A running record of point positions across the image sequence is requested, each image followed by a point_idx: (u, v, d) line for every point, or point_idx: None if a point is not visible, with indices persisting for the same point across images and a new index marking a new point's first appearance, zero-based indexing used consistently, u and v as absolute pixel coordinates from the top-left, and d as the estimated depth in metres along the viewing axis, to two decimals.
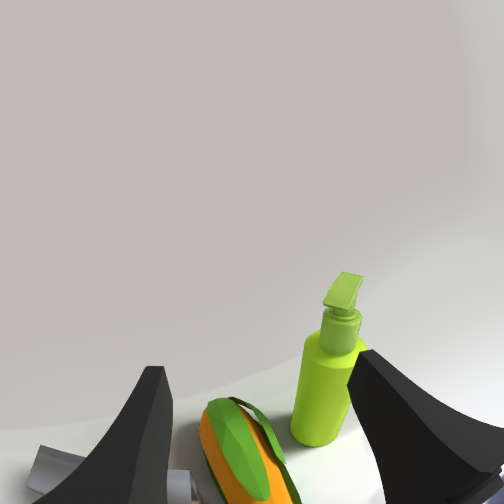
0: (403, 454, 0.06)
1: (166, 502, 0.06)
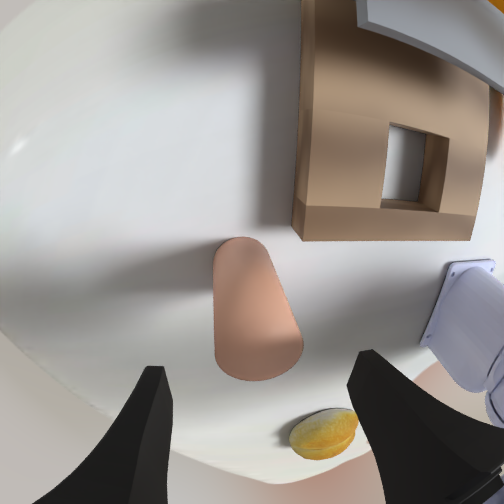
0: (403, 454, 0.06)
1: (166, 502, 0.06)
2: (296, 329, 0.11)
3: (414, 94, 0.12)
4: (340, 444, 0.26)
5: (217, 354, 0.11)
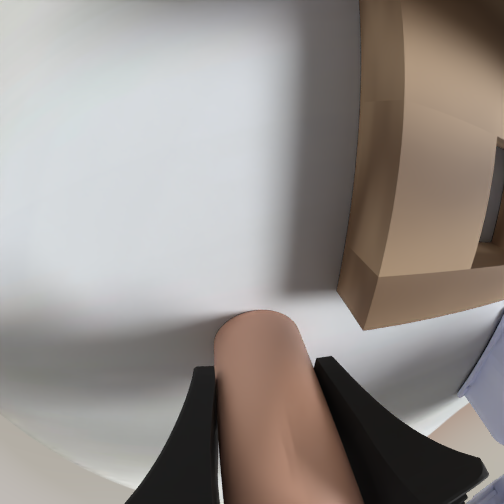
0: (355, 471, 0.06)
1: (219, 503, 0.06)
2: None
3: None
4: None
5: None
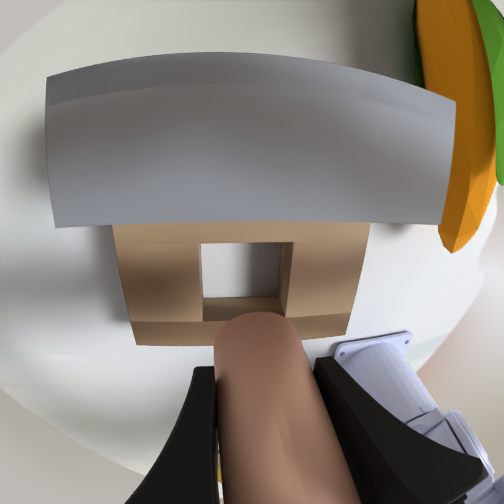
0: (355, 471, 0.06)
1: (219, 503, 0.06)
2: None
3: None
4: None
5: None
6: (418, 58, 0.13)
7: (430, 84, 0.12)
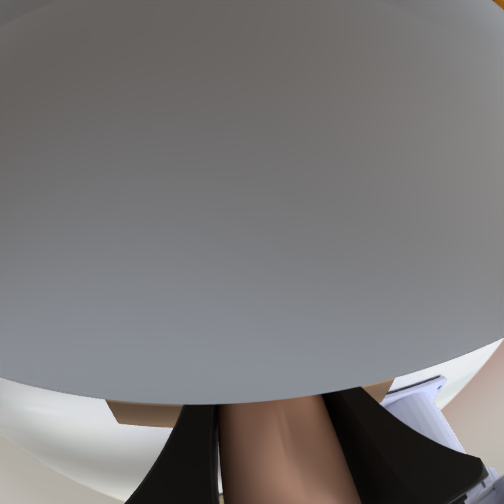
0: (355, 471, 0.06)
1: (219, 503, 0.06)
2: None
3: None
4: None
5: None
6: None
7: None
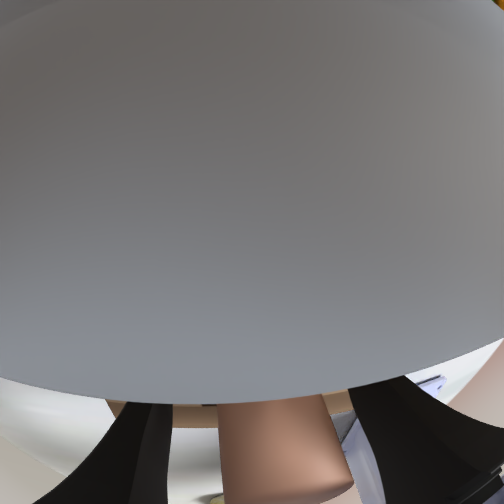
0: (403, 454, 0.06)
1: (166, 502, 0.06)
2: (351, 479, 0.05)
3: None
4: None
5: None
6: None
7: None
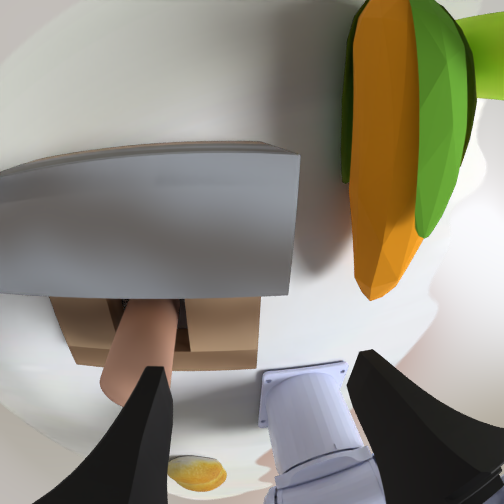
0: (403, 454, 0.06)
1: (166, 502, 0.06)
2: None
3: None
4: (206, 484, 0.29)
5: (102, 386, 0.12)
6: None
7: (354, 117, 0.13)
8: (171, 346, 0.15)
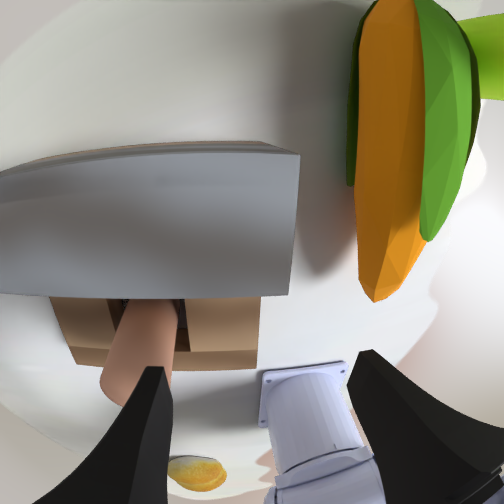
0: (403, 454, 0.06)
1: (166, 502, 0.06)
2: None
3: None
4: (206, 484, 0.29)
5: (101, 386, 0.12)
6: None
7: (360, 121, 0.13)
8: (171, 346, 0.15)
